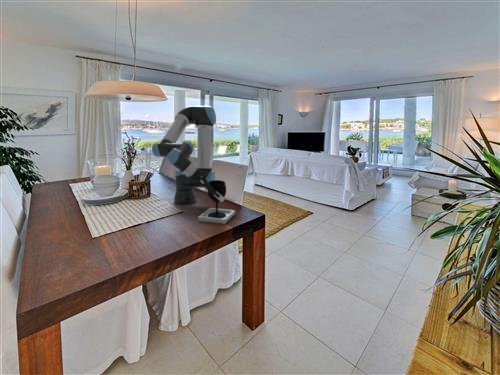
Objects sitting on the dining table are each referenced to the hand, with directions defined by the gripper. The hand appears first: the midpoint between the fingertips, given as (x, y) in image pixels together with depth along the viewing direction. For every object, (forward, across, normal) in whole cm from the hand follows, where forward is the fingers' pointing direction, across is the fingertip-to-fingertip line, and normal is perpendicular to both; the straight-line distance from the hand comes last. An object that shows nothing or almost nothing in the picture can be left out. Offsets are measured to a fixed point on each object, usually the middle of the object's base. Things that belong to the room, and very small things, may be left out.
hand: (220, 197), depth 141 cm
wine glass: (+6, 0, -10) cm, 11 cm away
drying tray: (+7, 0, -10) cm, 12 cm away
